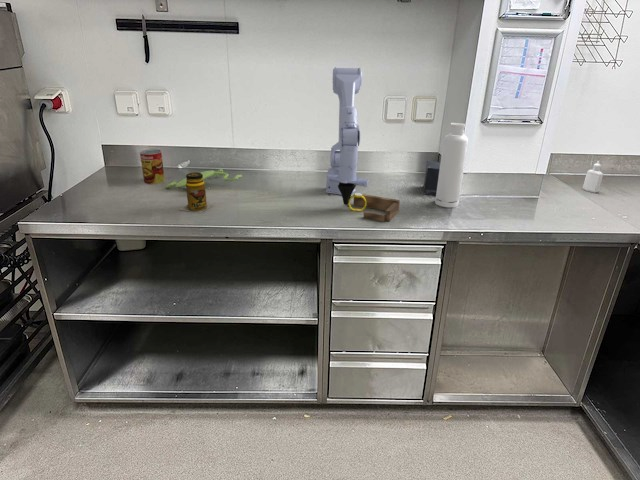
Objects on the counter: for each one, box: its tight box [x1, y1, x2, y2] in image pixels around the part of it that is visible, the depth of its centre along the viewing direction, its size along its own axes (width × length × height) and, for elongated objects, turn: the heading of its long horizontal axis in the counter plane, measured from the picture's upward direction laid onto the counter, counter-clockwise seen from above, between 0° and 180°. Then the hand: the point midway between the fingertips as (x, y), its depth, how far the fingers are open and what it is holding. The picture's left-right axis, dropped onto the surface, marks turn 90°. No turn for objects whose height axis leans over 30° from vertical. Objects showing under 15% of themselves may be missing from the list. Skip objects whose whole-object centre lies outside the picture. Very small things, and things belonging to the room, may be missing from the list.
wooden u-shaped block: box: [352, 193, 401, 222], centre depth 147 cm, size 16×12×4 cm
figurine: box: [165, 168, 243, 190], centre depth 169 cm, size 18×27×6 cm
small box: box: [422, 160, 441, 196], centre depth 169 cm, size 11×6×10 cm, turn 168°
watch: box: [348, 192, 367, 212], centre depth 148 cm, size 6×3×6 cm, turn 84°
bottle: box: [434, 122, 469, 208], centre depth 152 cm, size 8×8×28 cm
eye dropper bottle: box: [582, 160, 604, 194], centre depth 172 cm, size 4×6×12 cm
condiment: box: [178, 171, 212, 214], centre depth 146 cm, size 7×8×12 cm
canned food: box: [139, 148, 166, 185], centre depth 173 cm, size 8×8×12 cm
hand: (346, 204), depth 150 cm, fingers closed
